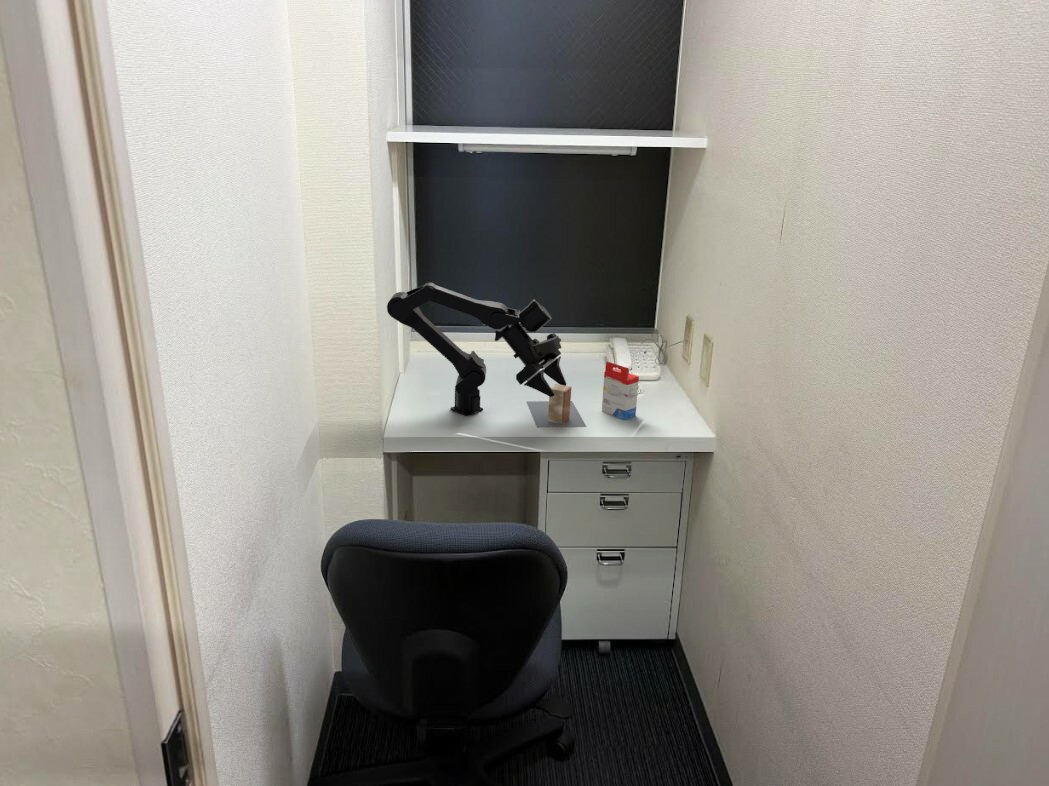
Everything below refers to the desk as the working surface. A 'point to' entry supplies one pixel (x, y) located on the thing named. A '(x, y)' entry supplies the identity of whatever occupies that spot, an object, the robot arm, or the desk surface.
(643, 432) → the desk surface
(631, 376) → the ink box
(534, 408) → the slate mat
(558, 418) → the beech block
